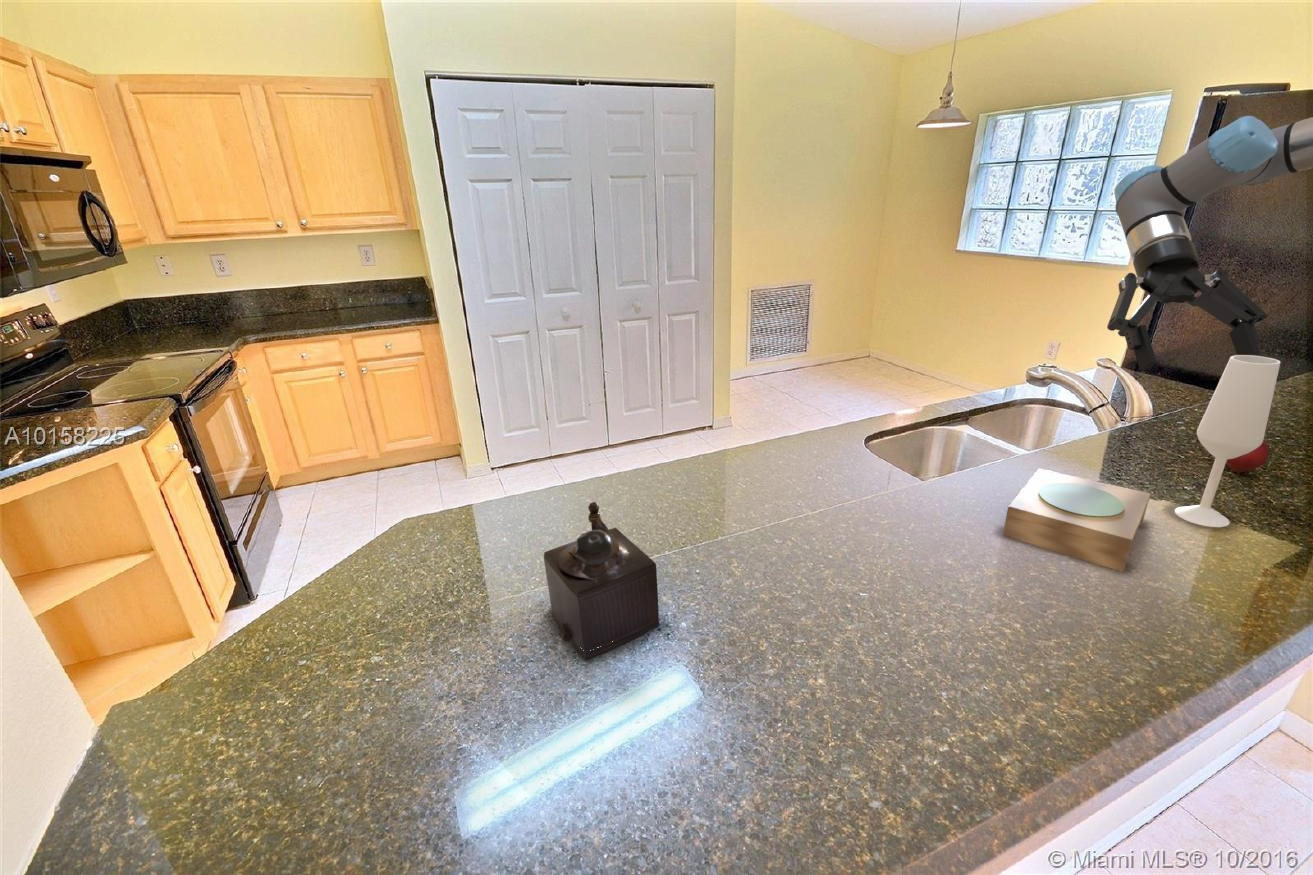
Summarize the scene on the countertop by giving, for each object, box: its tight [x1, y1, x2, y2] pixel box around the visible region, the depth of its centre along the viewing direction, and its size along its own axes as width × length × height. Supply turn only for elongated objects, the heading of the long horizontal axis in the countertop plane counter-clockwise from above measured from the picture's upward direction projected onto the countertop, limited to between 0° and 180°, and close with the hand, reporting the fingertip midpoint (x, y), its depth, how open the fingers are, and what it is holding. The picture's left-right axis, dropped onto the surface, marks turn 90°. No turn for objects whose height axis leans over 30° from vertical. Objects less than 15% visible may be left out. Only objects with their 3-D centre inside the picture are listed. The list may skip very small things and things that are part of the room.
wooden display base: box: [1002, 468, 1152, 572], centre depth 83 cm, size 14×16×5 cm
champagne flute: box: [1174, 354, 1281, 528], centre depth 81 cm, size 7×7×24 cm
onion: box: [1225, 438, 1270, 474], centre depth 96 cm, size 6×6×8 cm
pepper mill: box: [543, 501, 660, 661], centre depth 66 cm, size 16×11×18 cm
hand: (1199, 366), depth 85 cm, fingers open, 13 cm apart
